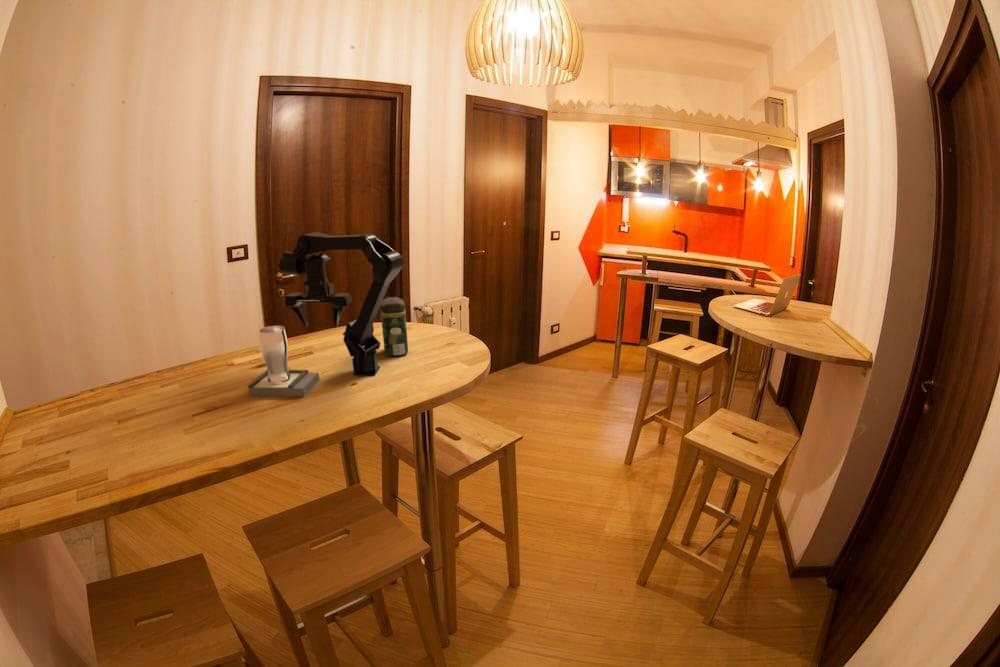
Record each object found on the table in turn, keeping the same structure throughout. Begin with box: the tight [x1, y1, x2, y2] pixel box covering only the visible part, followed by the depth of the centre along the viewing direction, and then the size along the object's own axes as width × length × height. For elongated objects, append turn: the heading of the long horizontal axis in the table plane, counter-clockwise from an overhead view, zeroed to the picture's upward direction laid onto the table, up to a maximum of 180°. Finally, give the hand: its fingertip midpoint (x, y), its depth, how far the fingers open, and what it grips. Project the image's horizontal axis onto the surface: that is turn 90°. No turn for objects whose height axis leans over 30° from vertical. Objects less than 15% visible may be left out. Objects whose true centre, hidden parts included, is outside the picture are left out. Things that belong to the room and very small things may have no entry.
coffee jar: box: [380, 296, 409, 357], centre depth 166 cm, size 10×8×19 cm
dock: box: [247, 369, 320, 398], centre depth 142 cm, size 15×11×3 cm
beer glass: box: [258, 325, 291, 385], centre depth 138 cm, size 7×7×15 cm
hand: (321, 326), depth 153 cm, fingers open, 9 cm apart
